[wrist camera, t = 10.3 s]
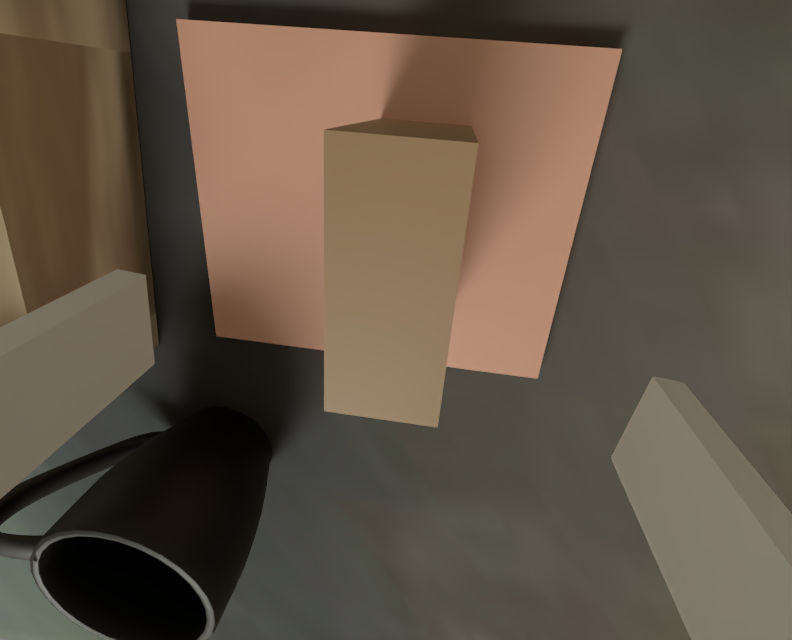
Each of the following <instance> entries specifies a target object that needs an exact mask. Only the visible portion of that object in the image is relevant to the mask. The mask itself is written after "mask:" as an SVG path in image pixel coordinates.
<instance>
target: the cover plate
mask: <svg viewBox="0 0 792 640" xmlns="http://www.w3.org/2000/svg"><path fill="white" fill-rule="evenodd" d="M176 22H177V29H178V37H179V45H180V53H181V61H182V69H183V77H184V85H185V93H186V101H187V109H188V117H189V124H190V132H191V140H192V148H193V156H194V164H195V172H196V180H197V188H198V196H199V204H200V211H201V219H202V227H203V235H204V243H205V251H206V259H207V267H208V275H209V283H210V291H211V299H212V306H213V314H214V322H215V330H216V336H218V337H226V338H234V339H241V340H249V341H256V342H264V343H272V344H279V345H287V346H294V347H302V348H309V349H317V350H324V411H327V412H334V413H341V414H348V415H355V416H362V417H369V418H375V419H382V420H389V421H396V422H403V423H410V424H417V425H424V426H431V427H438V420H439V413H440V406H441V400H442V393H443V386H444V379H445V372H446V367H453V368H461V369H468V370H476V371H484V372H491V373H499V374H506V375H514V376H521V377H529V378H537V379H538V375H539V371H540V367H541V363H542V359H543V355H544V352H545V348H546V344H547V340H548V336H549V332H550V328H551V324H552V320H553V317H554V313H555V309H556V305H557V301H558V297H559V293H560V289H561V286H562V282H563V278H564V274H565V270H566V266H567V262H568V258H569V255H570V251H571V247H572V243H573V239H574V235H575V231H576V227H577V223H578V220H579V216H580V212H581V208H582V204H583V200H584V196H585V192H586V189H587V185H588V181H589V177H590V173H591V169H592V165H593V161H594V158H595V154H596V150H597V146H598V142H599V138H600V134H601V130H602V126H603V123H604V119H605V115H606V111H607V107H608V103H609V99H610V95H611V92H612V88H613V84H614V80H615V76H616V72H617V68H618V64H619V61H620V57H621V53H622V49H615V48H600V47H585V46H570V45H556V44H541V43H526V42H511V41H496V40H481V39H467V38H452V37H437V36H422V35H407V34H392V33H377V32H363V31H348V30H333V29H318V28H303V27H288V26H274V25H259V24H244V23H229V22H214V21H199V20H185V19H176Z"/></svg>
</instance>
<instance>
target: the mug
mask: <svg viewBox="0 0 792 640" xmlns="http://www.w3.org/2000/svg"><path fill="white" fill-rule="evenodd" d="M270 460H271V446H270V442H269V440H268V438H267V436H266V434H265V432H264V431H263V430H262V429H261V428H260V426H259V425H258V424H257V423H255V422H254V421H253V420H252V419H250V418H249V417H247V416H245V415H244V414H242V413H240V412H237V411H235V410H232V409H228V408H222V407H210V408H205V409H201V410H199V411H197V412H195V413H193V414H192V415H191V416H189V417H188V418H186V419H184V420H183V421H181V422H179V423H178V424H176V425H174V426H172V427H170V428H169V429H167V430H165V431H164V432H163V431H160V432H151V433H146V434H142V435H139V436H135V437H132V438H129V439H126V440H124V441H121V442H118V443H116V444H113V445H110V446H108V447H105V448H103V449H100V450H98V451H95V452H93V453H90V454H88V455H85V456H83V457H80V458H78V459H76V460H73V461H71V462H68V463H66V464H63V465H61V466H59V467H56V468H54V469H51V470H49V471H47V472H44V473H42V474H40V475H37V476H35V477H33V478H31V479H29V480H27V481H24V482H22V483H20V484H18V485H16V486H15V487H14V488H13V489H11V490H10V491H9V492H8V493H7V494H6V495H5V496H3V497H2V498H1V499H0V525H1V524H2V523H3V522H5V521H6V520H7V519H8V518H10V517H11V516H12V515H14V514H15V513H17V512H18V511H20V510H21V509H23V508H25V507H26V506H28V505H30V504H32V503H34V502H35V501H37V500H39V499H41V498H43V497H45V496H47V495H49V494H51V493H53V492H55V491H57V490H59V489H61V488H64V487H66V486H68V485H70V484H72V483H74V482H77V481H79V480H81V479H83V478H86V477H88V476H90V475H92V474H95V473H97V472H99V471H102V470H104V469H107V468H109V467H112V466H114V465H115V466H114V467H112V468H111V469H110V470H109V471H108V472H106V473H105V474H104V475H103V476H102V477H100V478H99V479H98V480H97V481H96V482H95V483H94V484H93V485H92V486H91V487H90V488H89V489H88V490H87V491H86V492H85V493H84V494H83V495H82V496H81V498H80V499H79V500H78V501H77V502H76V503H75V504H74V505H73V506H72V507H71V508H70V509H69V510H68V511H67V512H66V513H65V514H64V515H63V516H62V517H61V518H60V519H59V520H58V521H57V522H56V523H55V524H54V525H53V526H52V527H51V528H50V529H49V530H48V531H47V532H46V534H45V535H43V536H27V535H13V534H6V533H2V532H0V556H3V557H8V558H14V559H21V560H30V565H31V572H32V575H33V577H34V580H35V582H36V584H37V586H38V587H39V589H40V590H41V592H42V593H43V595H44V596H45V597H46V598H47V599H48V600H49V601H50V602H51V604H52V605H53V606H54V607H55V608H56V609H57V610H58V611H60V612H61V613H62V614H64V615H65V616H66V617H67V618H69V619H70V620H71V621H73V622H74V623H76V624H77V625H79V626H81V627H82V628H84V629H86V630H87V631H89V632H91V633H93V634H95V635H97V636H99V637H101V638H103V639H106V640H208V638H209V637H210V636H211V635H212V634H213V633H214V631H215V630H216V627H217V625H218V623H219V621H220V619H221V617H222V615H223V612H224V610H225V608H226V606H227V604H228V602H229V600H230V598H231V595H232V593H233V591H234V589H235V587H236V585H237V582H238V580H239V578H240V576H241V574H242V571H243V569H244V567H245V564H246V561H247V558H248V555H249V553H250V550H251V547H252V544H253V541H254V538H255V534H256V531H257V527H258V524H259V520H260V516H261V512H262V508H263V503H264V498H265V492H266V486H267V478H268V471H269V464H270Z"/></svg>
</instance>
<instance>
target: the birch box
mask: <svg viewBox="0 0 792 640" xmlns="http://www.w3.org/2000/svg"><path fill="white" fill-rule="evenodd" d="M116 269H119V270H124V271H129V272H134V273H139V274H144V275H146V282H147V292H148V302H149V312H150V321H151V331H152V341H153V349H155V348H156V347H157V346H158V345H159V339H158V329H157V319H156V308H155V298H154V288H153V277H152V267H151V257H150V246H149V236H148V226H147V216H146V205H145V195H144V185H143V174H142V164H141V154H140V143H139V133H138V123H137V112H136V102H135V92H134V81H133V71H132V61H131V50H130V40H129V30H128V19H127V9H126V0H0V327H2V326H4V325H6V324H8V323H10V322H12V321H14V320H16V319H18V318H20V317H22V316H24V315H26V314H28V313H30V312H32V311H34V310H36V309H38V308H40V307H42V306H44V305H46V304H48V303H50V302H52V301H54V300H56V299H58V298H60V297H62V296H64V295H66V294H68V293H70V292H72V291H74V290H76V289H78V288H80V287H82V286H84V285H86V284H88V283H90V282H92V281H94V280H96V279H98V278H100V277H102V276H104V275H106V274H108V273H110V272H112V271H114V270H116Z"/></svg>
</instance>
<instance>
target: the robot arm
mask: <svg viewBox="0 0 792 640" xmlns="http://www.w3.org/2000/svg"><path fill="white" fill-rule="evenodd" d="M154 364H155V361H154V351H153V341H152V331H151V321H150V312H149V302H148V292H147V282H146V275H144V274H139V273H134V272H129V271H124V270H119V269H116V270H114V271H112V272H110V273H108V274H106V275H104V276H102V277H100V278H98V279H96V280H94V281H92V282H90V283H88V284H86V285H84V286H82V287H80V288H78V289H76V290H74V291H72V292H70V293H68V294H66V295H64V296H62V297H60V298H58V299H56V300H54V301H52V302H50V303H48V304H46V305H44V306H42V307H40V308H38V309H36V310H34V311H32V312H30V313H28V314H26V315H24V316H22V317H20V318H18V319H16V320H14V321H12V322H10V323H8V324H6V325H4V326H2V327H0V499H1V498H2V497H3V496H5V495H6V494H7V493H8V492H9V491H10V490H11V489H13V488H14V487H15V486H16V485H17V484H18V483H19V482H21V481H22V480H23V479H24V478H25V477H26V476H27V475H29V474H30V473H31V472H32V471H33V470H34V469H35V468H37V467H38V466H39V465H40V464H41V463H42V462H43V461H44V460H46V459H47V458H48V457H49V456H50V455H51V454H52V453H54V452H55V451H56V450H57V449H58V448H59V447H60V446H62V445H63V444H64V443H65V442H66V441H67V440H68V439H70V438H71V437H72V436H73V435H74V434H75V433H76V432H78V431H79V430H80V429H81V428H82V427H83V426H84V425H86V424H87V423H88V422H89V421H90V420H91V419H92V418H93V417H95V416H96V415H97V414H98V413H99V412H100V411H101V410H103V409H104V408H105V407H106V406H107V405H108V404H109V403H111V402H112V401H113V400H114V399H115V398H116V397H117V396H119V395H120V394H121V393H122V392H123V391H124V390H125V389H127V388H128V387H129V386H130V385H131V384H132V383H133V382H135V381H136V380H137V379H138V378H139V377H140V376H141V375H143V374H144V373H145V372H146V371H147V370H148V369H149V368H150V367H152V366H153V365H154ZM611 460H612V462H613V464H614V466H615V469H616V471H617V473H618V475H619V478H620V480H621V482H622V485H623V487H624V489H625V491H626V494H627V496H628V498H629V500H630V503H631V505H632V507H633V509H634V512H635V514H636V516H637V518H638V521H639V523H640V525H641V527H642V530H643V532H644V534H645V537H646V539H647V541H648V543H649V546H650V548H651V550H652V552H653V555H654V557H655V559H656V561H657V564H658V566H659V568H660V570H661V573H662V575H663V577H664V579H665V582H666V584H667V586H668V589H669V591H670V593H671V595H672V598H673V600H674V602H675V604H676V607H677V609H678V611H679V613H680V616H681V618H682V620H683V622H684V625H685V627H686V629H687V631H688V634H689V636H690V638H691V640H792V514H791V513H790V512H789V510H788V509H787V508H786V507H785V506H784V504H783V503H782V502H781V501H780V500H779V498H778V497H777V496H776V495H775V493H774V492H773V491H772V490H771V489H770V487H769V486H768V485H767V484H766V482H765V481H764V480H763V479H762V478H761V476H760V475H759V474H758V473H757V471H756V470H755V469H754V468H753V467H752V465H751V464H750V463H749V462H748V461H747V459H746V458H745V457H744V456H743V454H742V453H741V452H740V451H739V450H738V448H737V447H736V446H735V445H734V443H733V442H732V441H731V440H730V439H729V437H728V436H727V435H726V434H725V432H724V431H723V430H722V429H721V428H720V426H719V425H718V424H717V423H716V422H715V420H714V419H713V418H712V417H711V415H710V414H709V413H708V412H707V411H706V409H705V408H704V407H703V406H702V404H701V403H700V402H699V401H698V400H697V398H696V397H695V396H694V395H693V393H692V392H691V391H690V390H689V389H688V387H687V386H686V385H685V384H684V383H683V382H679V381H674V380H669V379H664V378H659V377H654V376H653V377H652V379H651V381H650V383H649V385H648V386H647V388H646V390H645V392H644V394H643V396H642V398H641V400H640V402H639V404H638V406H637V408H636V410H635V412H634V414H633V415H632V417H631V419H630V421H629V423H628V425H627V427H626V429H625V431H624V433H623V435H622V437H621V439H620V441H619V443H618V444H617V446H616V448H615V450H614V452H613V454H612V456H611Z"/></svg>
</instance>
